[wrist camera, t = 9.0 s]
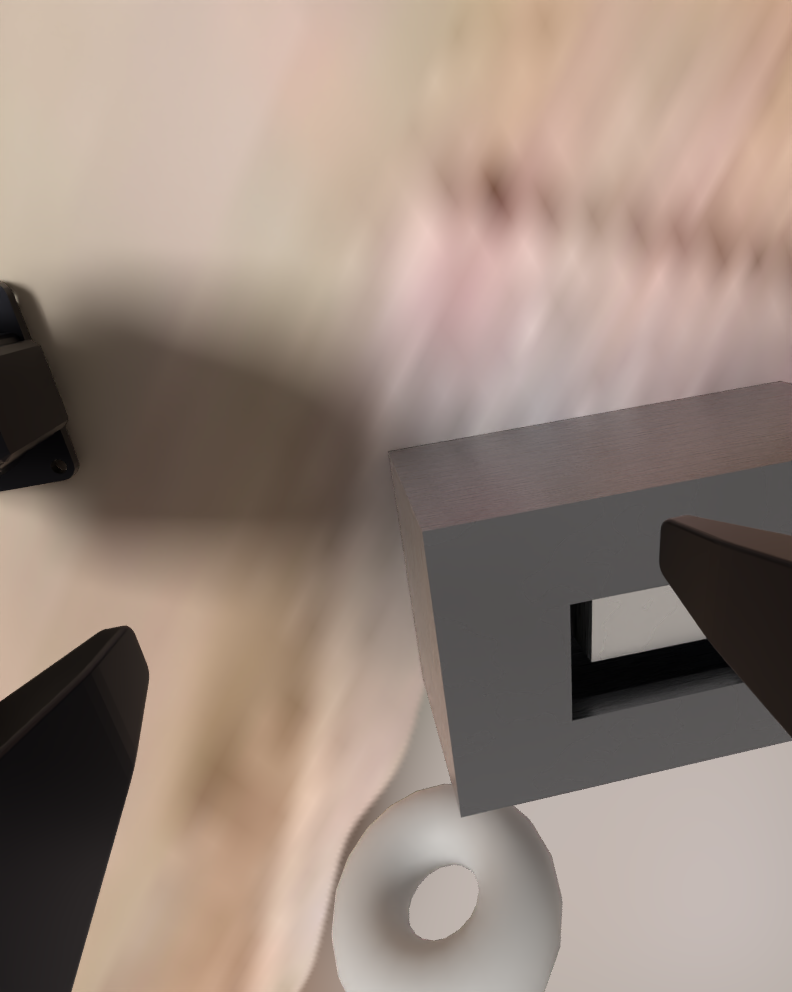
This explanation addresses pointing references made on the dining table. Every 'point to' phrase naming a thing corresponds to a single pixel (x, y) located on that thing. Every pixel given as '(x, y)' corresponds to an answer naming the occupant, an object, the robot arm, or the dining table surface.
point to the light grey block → (632, 623)
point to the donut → (486, 934)
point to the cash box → (580, 589)
